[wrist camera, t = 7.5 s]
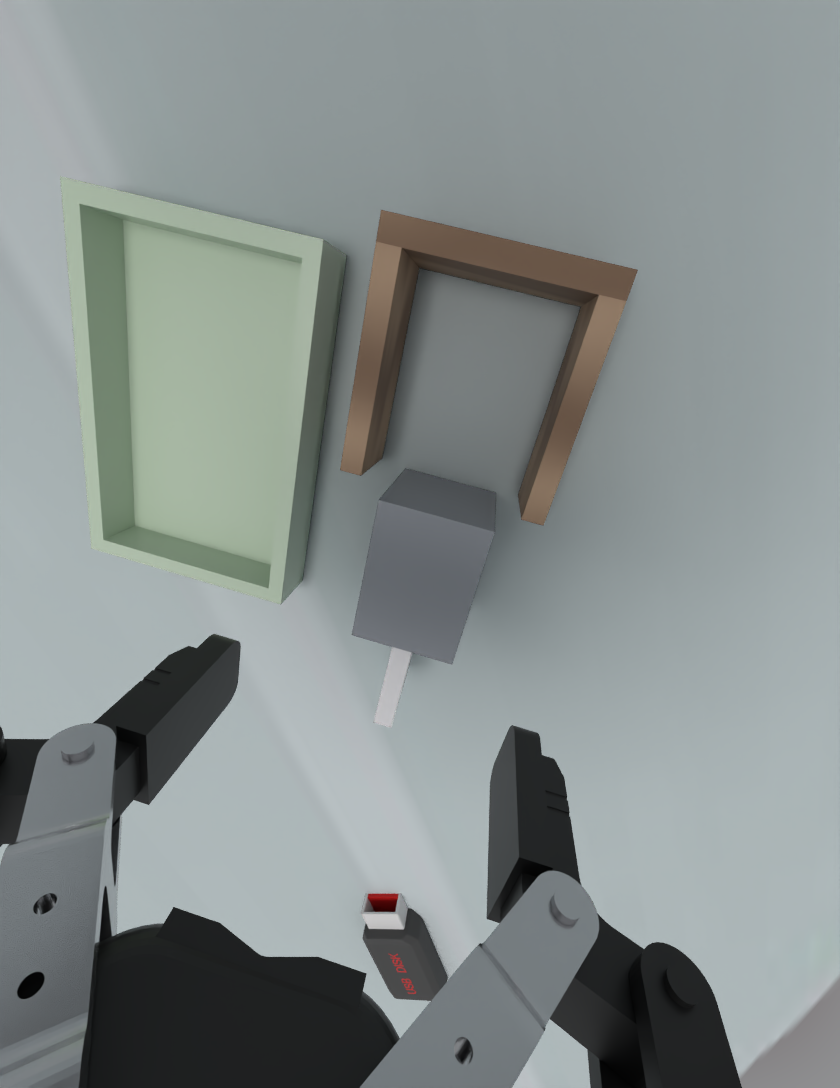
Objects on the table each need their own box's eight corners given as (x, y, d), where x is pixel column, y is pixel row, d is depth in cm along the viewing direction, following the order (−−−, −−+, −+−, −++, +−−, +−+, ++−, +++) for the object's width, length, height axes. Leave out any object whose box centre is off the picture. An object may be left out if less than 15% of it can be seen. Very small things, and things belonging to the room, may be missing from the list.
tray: (116, 200, 21) (60, 176, 19) (346, 255, 21) (323, 239, 18) (130, 530, 29) (91, 548, 26) (302, 580, 28) (280, 604, 25)
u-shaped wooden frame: (402, 237, 20) (381, 210, 16) (612, 286, 19) (637, 269, 16) (364, 453, 24) (340, 470, 20) (536, 499, 23) (543, 525, 20)
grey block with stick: (405, 468, 24) (378, 500, 19) (495, 492, 24) (495, 532, 18) (365, 651, 29) (334, 718, 24) (439, 673, 29) (425, 746, 23)
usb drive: (396, 969, 43) (390, 1006, 41) (357, 888, 40) (347, 923, 37) (448, 971, 42) (445, 1010, 40) (412, 887, 38) (406, 924, 36)
